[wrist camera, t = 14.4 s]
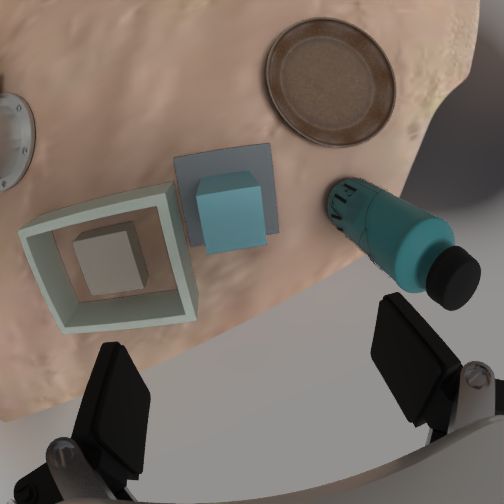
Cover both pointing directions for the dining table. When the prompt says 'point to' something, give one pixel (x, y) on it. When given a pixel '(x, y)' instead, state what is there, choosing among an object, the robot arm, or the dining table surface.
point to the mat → (225, 162)
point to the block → (231, 212)
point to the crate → (112, 264)
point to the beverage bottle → (405, 242)
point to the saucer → (331, 82)
